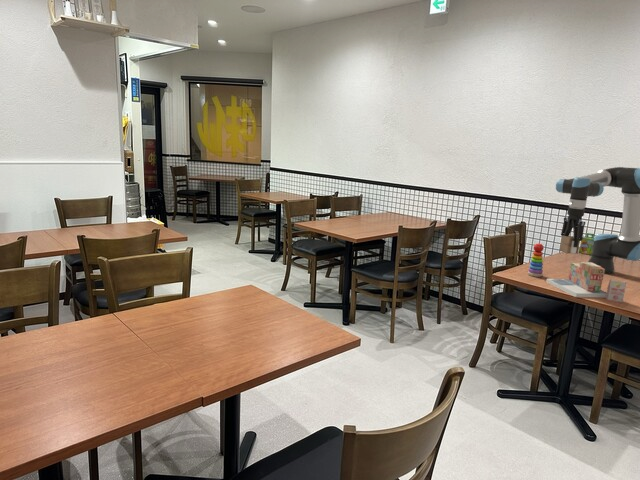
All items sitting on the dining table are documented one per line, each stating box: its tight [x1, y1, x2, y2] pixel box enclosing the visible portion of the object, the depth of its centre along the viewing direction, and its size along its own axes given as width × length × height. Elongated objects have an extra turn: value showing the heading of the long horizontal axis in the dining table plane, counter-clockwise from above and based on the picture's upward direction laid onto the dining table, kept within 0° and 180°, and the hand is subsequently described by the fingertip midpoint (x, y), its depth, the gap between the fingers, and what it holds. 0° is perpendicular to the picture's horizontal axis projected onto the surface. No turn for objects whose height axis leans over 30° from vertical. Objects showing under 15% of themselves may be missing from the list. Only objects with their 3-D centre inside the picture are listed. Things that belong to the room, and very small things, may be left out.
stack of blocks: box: [568, 261, 605, 292], centre depth 232 cm, size 21×6×12 cm, turn 175°
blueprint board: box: [545, 278, 607, 299], centre depth 232 cm, size 18×24×2 cm
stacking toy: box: [527, 243, 544, 278], centre depth 254 cm, size 8×8×19 cm
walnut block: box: [559, 235, 581, 255], centre depth 232 cm, size 6×6×8 cm
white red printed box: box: [605, 279, 627, 304], centre depth 217 cm, size 4×7×10 cm, turn 61°
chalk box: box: [578, 232, 595, 256], centre depth 322 cm, size 9×9×15 cm
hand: (568, 251), depth 233 cm, fingers closed on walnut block, 6 cm apart
